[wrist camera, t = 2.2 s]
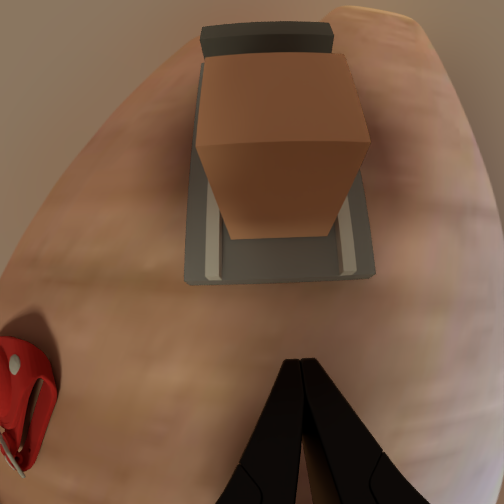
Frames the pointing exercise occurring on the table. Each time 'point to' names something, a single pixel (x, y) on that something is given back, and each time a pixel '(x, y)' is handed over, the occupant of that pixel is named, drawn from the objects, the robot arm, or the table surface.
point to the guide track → (270, 249)
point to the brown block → (280, 141)
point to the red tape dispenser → (23, 400)
